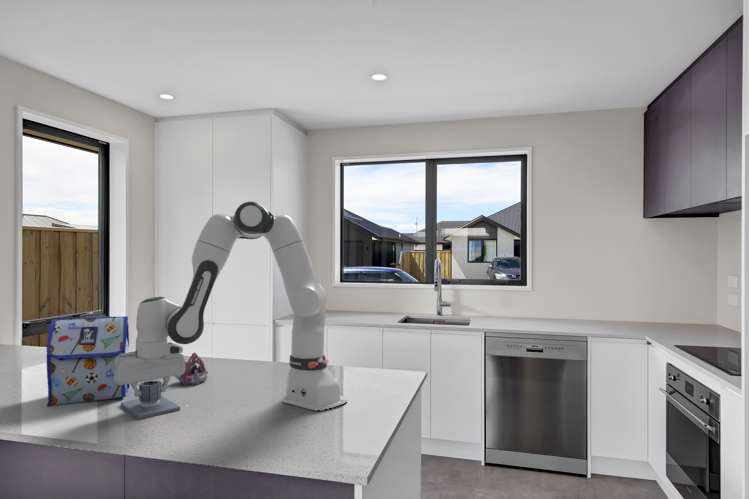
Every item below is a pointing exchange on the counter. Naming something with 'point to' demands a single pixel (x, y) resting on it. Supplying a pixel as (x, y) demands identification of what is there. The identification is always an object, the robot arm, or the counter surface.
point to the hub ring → (150, 391)
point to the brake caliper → (193, 371)
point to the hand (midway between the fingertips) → (150, 393)
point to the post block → (149, 407)
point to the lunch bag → (85, 358)
